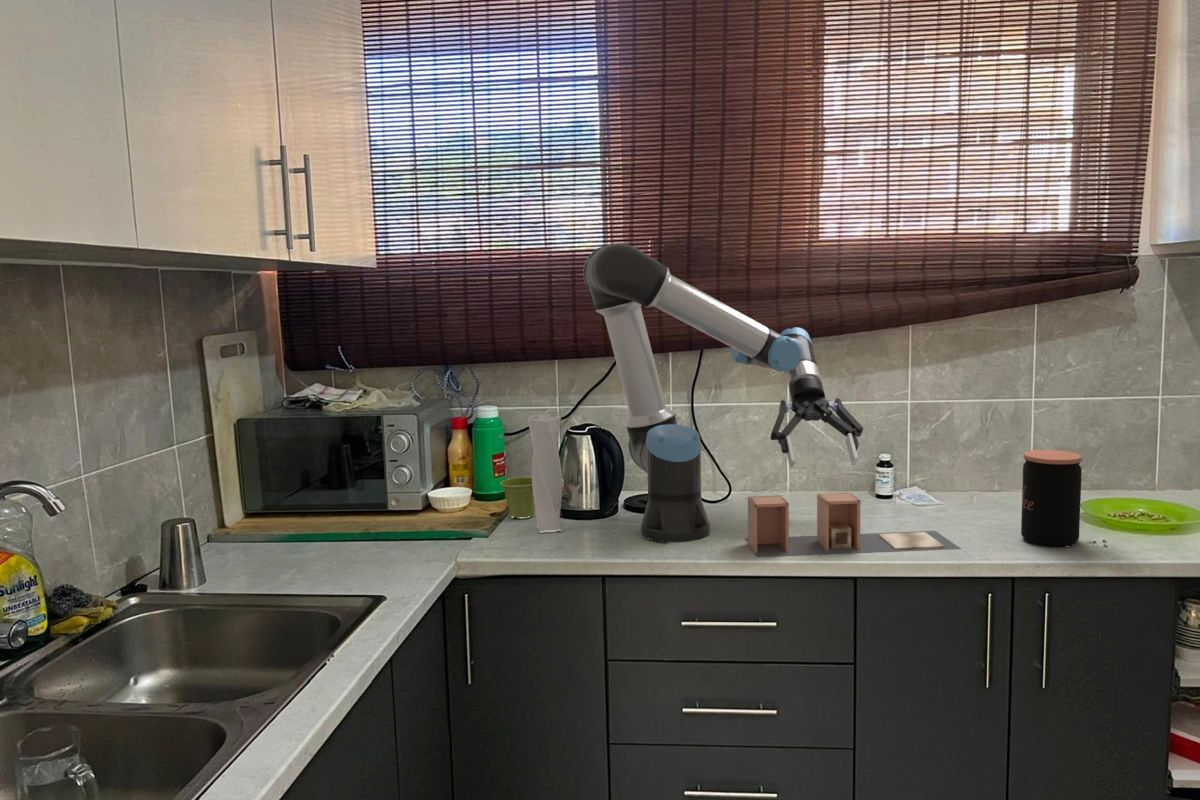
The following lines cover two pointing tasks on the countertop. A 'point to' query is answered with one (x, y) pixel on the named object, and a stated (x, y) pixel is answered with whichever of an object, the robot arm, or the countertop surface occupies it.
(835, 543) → the letter cube
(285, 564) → the countertop surface
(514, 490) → the plant pot
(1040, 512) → the coffee jar
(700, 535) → the robot arm
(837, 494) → the cover
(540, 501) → the skyscraper
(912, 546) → the coaster
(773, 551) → the mat
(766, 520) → the cover
